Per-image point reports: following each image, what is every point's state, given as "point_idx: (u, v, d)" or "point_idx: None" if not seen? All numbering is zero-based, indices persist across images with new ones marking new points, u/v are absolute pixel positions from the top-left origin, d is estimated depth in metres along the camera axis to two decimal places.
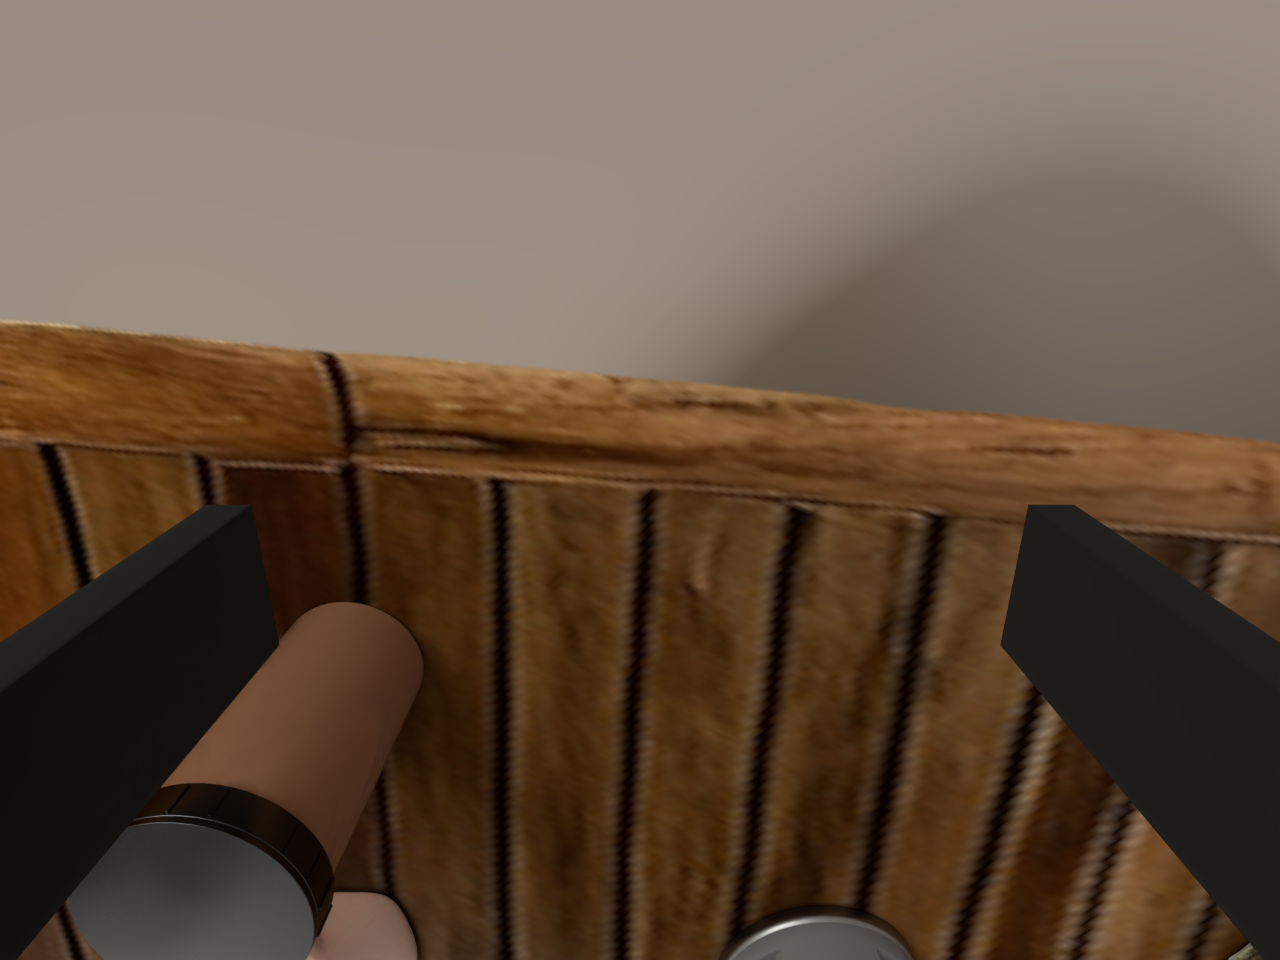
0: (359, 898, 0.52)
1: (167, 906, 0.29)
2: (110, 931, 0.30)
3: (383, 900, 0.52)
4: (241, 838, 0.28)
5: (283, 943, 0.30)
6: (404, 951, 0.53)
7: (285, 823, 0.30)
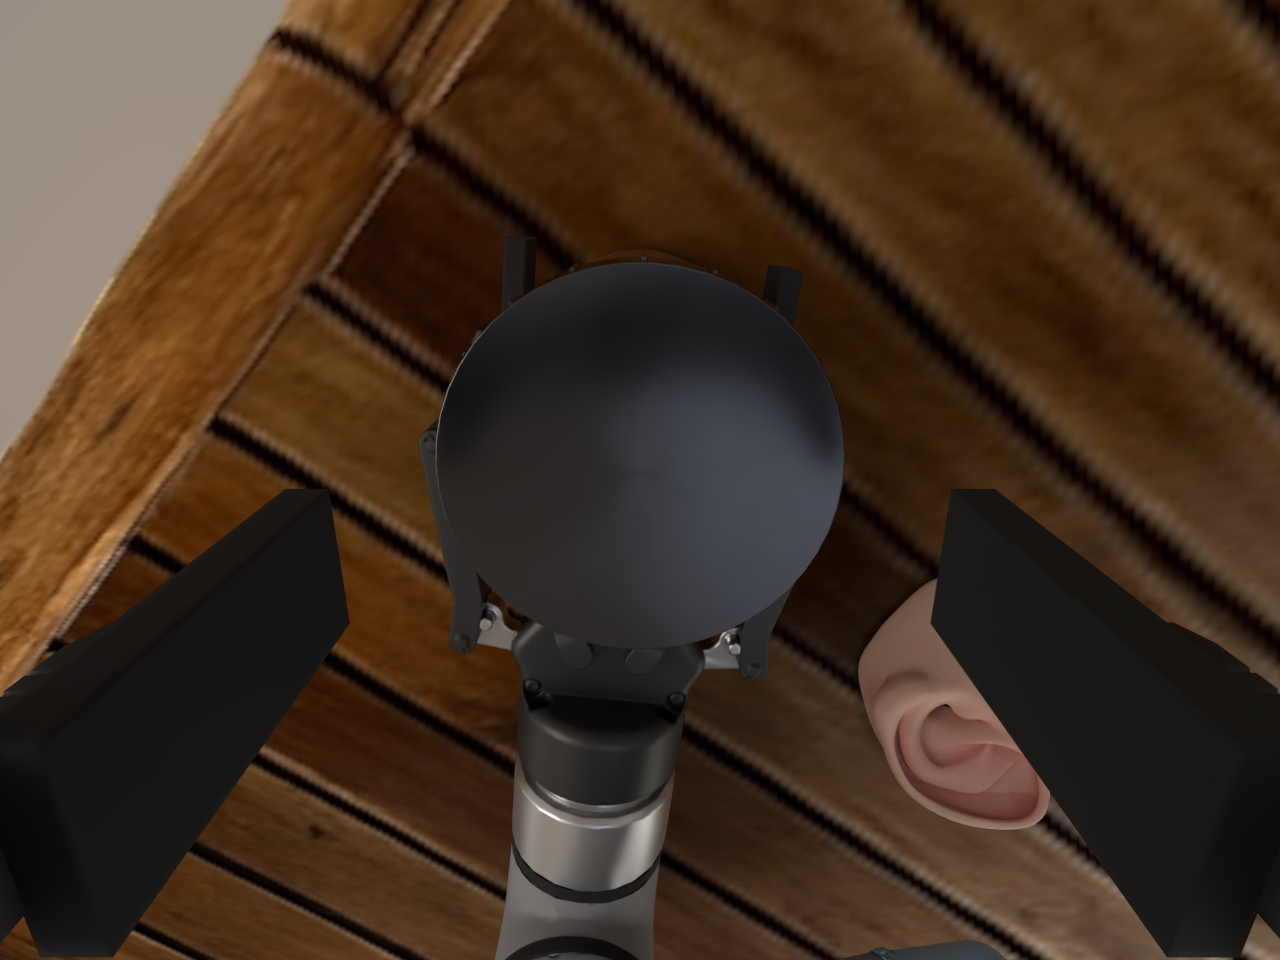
0: (913, 603, 0.38)
1: (599, 489, 0.17)
2: (583, 597, 0.19)
3: None
4: (566, 274, 0.16)
5: (782, 400, 0.17)
6: None
7: (620, 258, 0.17)
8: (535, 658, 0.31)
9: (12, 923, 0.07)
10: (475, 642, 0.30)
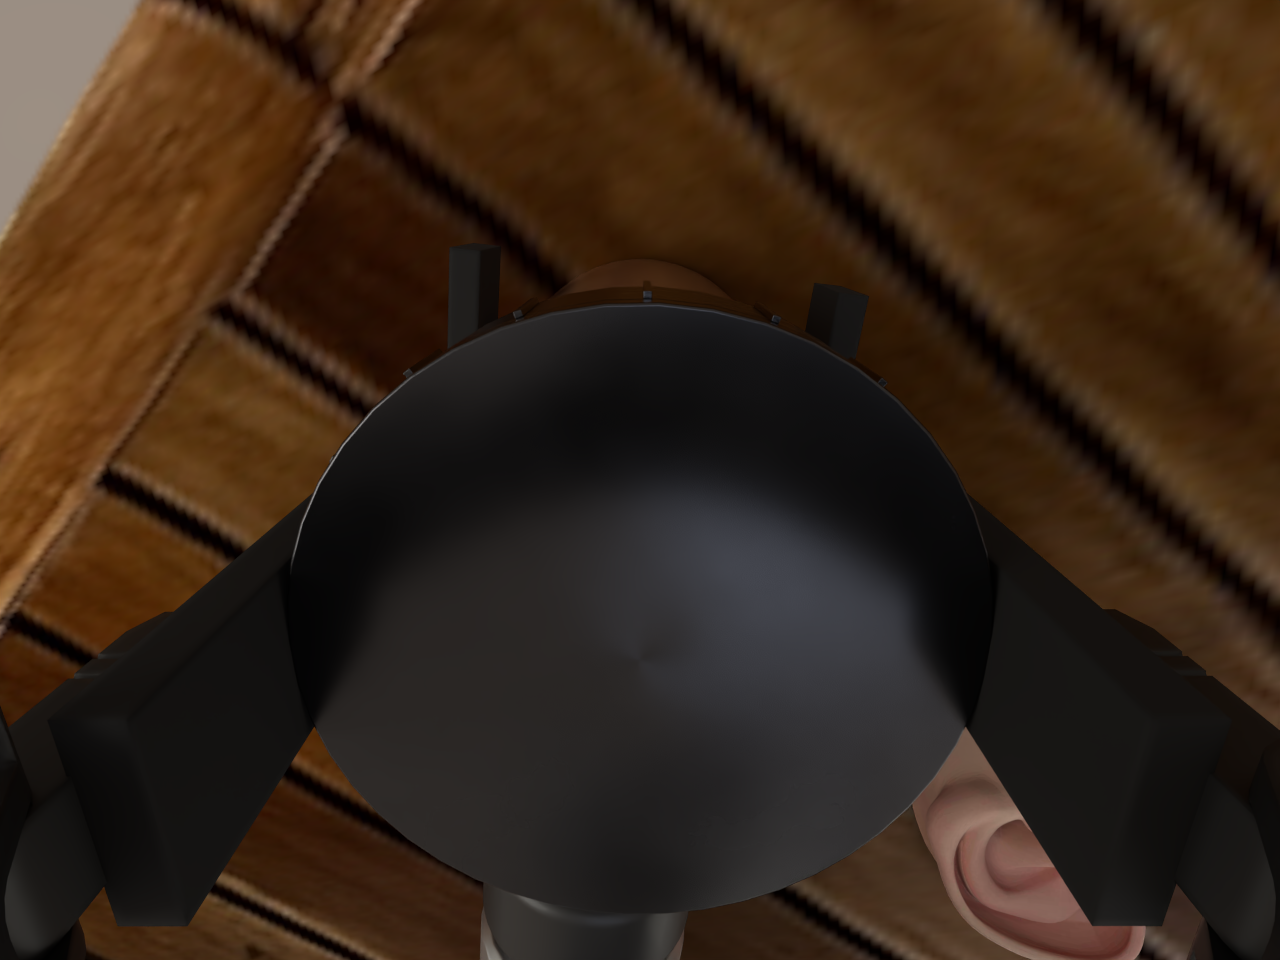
0: None
1: (571, 682, 0.10)
2: (547, 841, 0.11)
3: None
4: (505, 325, 0.09)
5: (889, 541, 0.10)
6: None
7: (606, 291, 0.10)
8: None
9: (95, 892, 0.07)
10: None
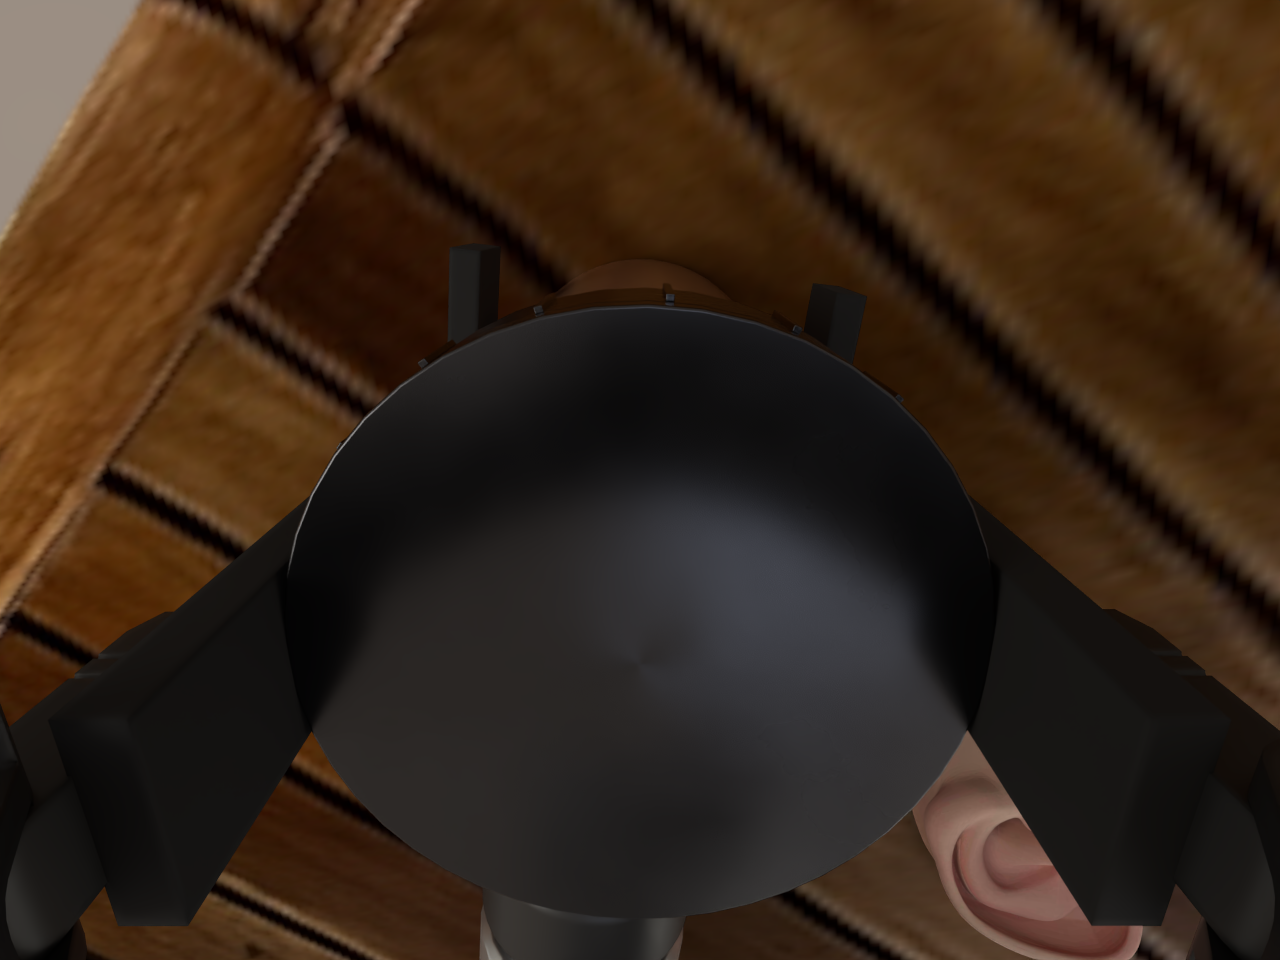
0: None
1: (667, 720, 0.10)
2: (870, 743, 0.11)
3: None
4: (329, 761, 0.11)
5: (485, 441, 0.09)
6: None
7: None
8: None
9: (95, 892, 0.07)
10: None
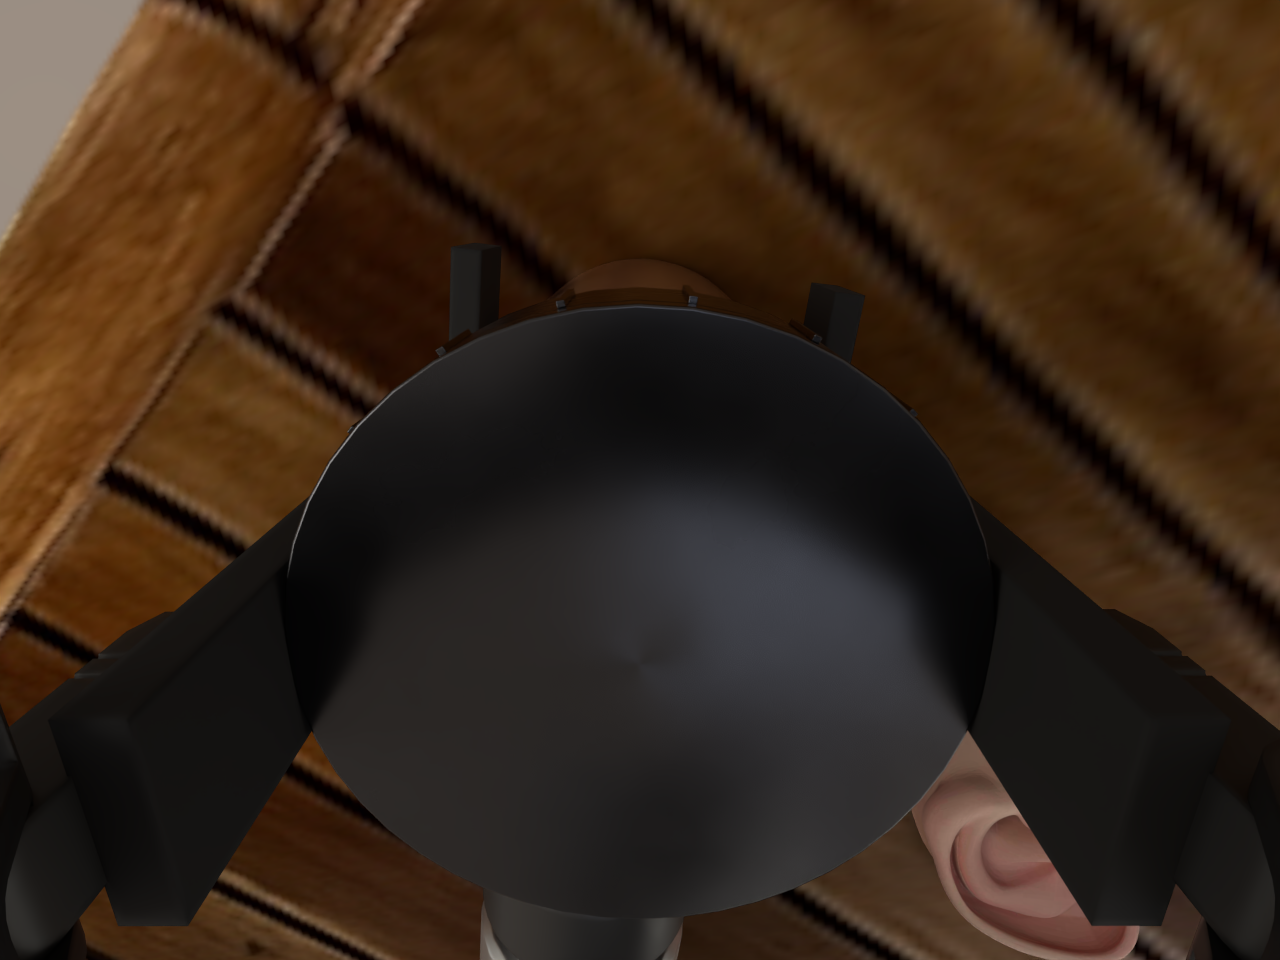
0: None
1: (708, 637, 0.10)
2: (743, 429, 0.09)
3: None
4: (753, 901, 0.12)
5: (425, 777, 0.11)
6: None
7: None
8: None
9: (96, 892, 0.07)
10: None
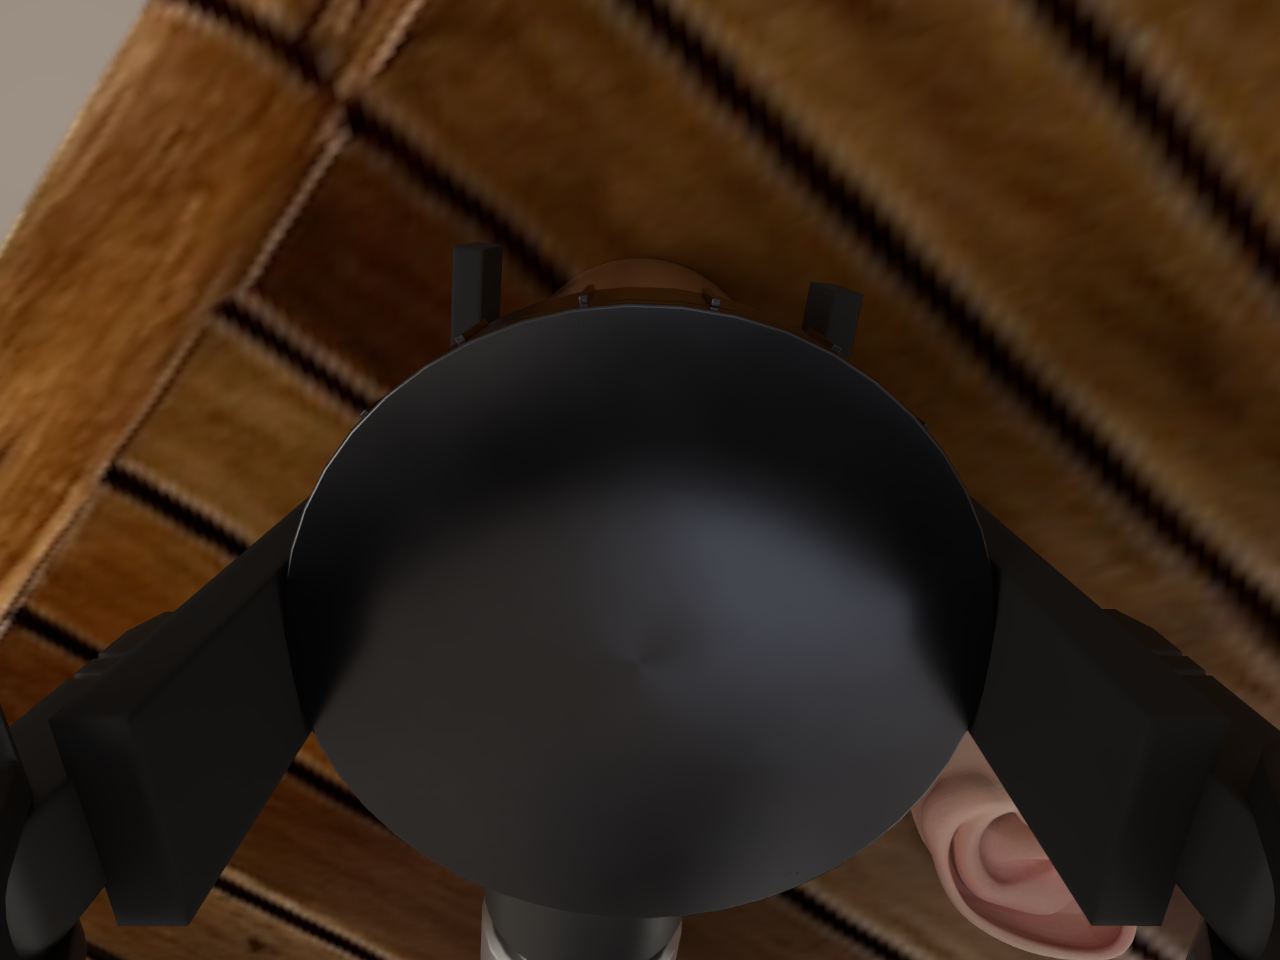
0: None
1: (606, 603, 0.10)
2: (383, 587, 0.10)
3: None
4: (983, 533, 0.09)
5: (774, 835, 0.11)
6: None
7: None
8: None
9: (95, 892, 0.07)
10: None
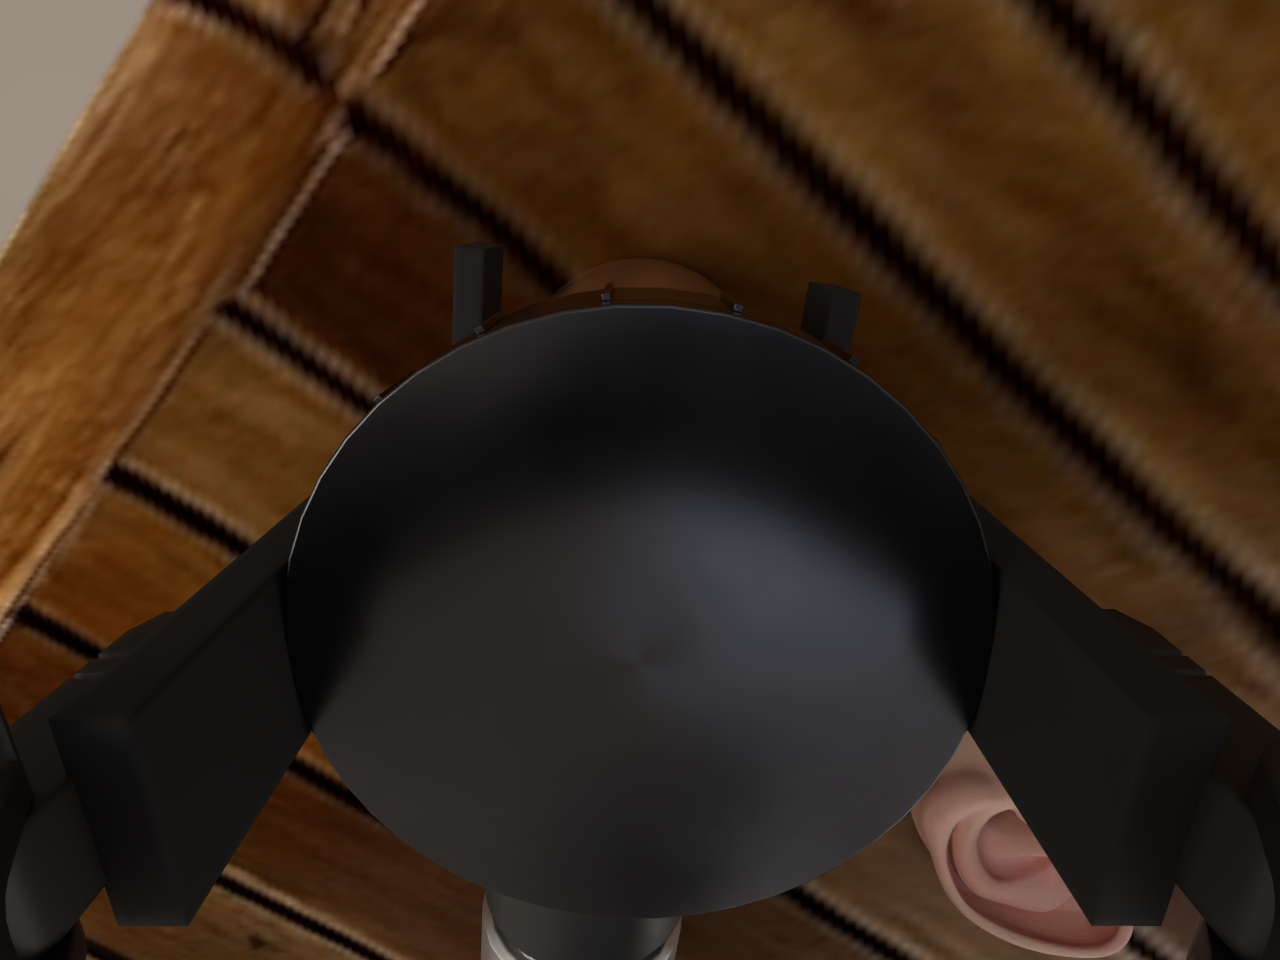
0: None
1: (574, 691, 0.10)
2: (569, 852, 0.11)
3: None
4: (464, 342, 0.09)
5: (878, 521, 0.09)
6: None
7: (569, 297, 0.10)
8: None
9: (96, 892, 0.07)
10: None
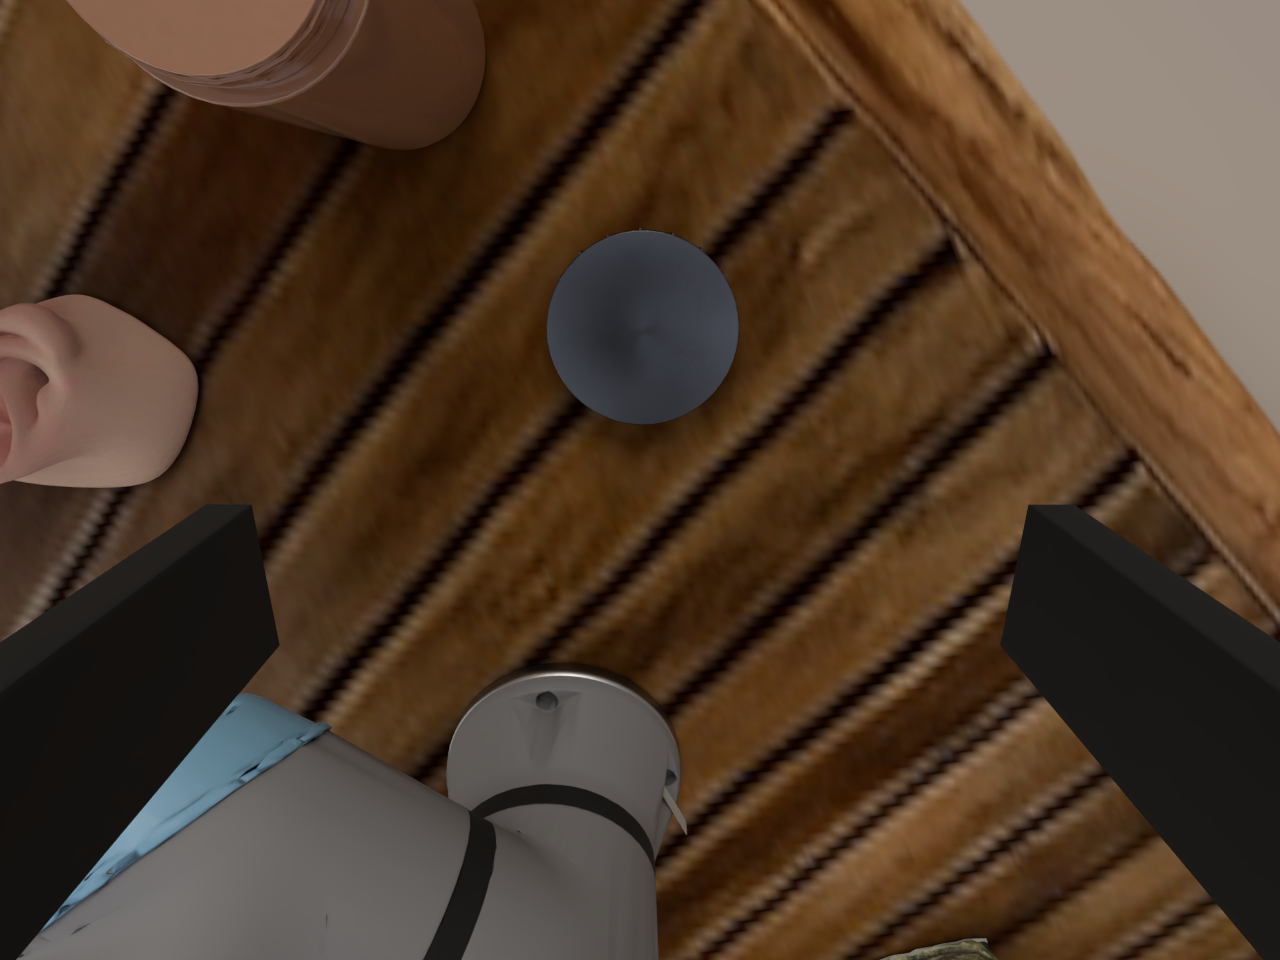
0: (160, 343, 0.39)
1: (652, 349, 0.37)
2: (710, 351, 0.37)
3: (187, 366, 0.39)
4: None
5: (597, 270, 0.36)
6: (163, 445, 0.40)
7: None
8: None
9: None
10: None
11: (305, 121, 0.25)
